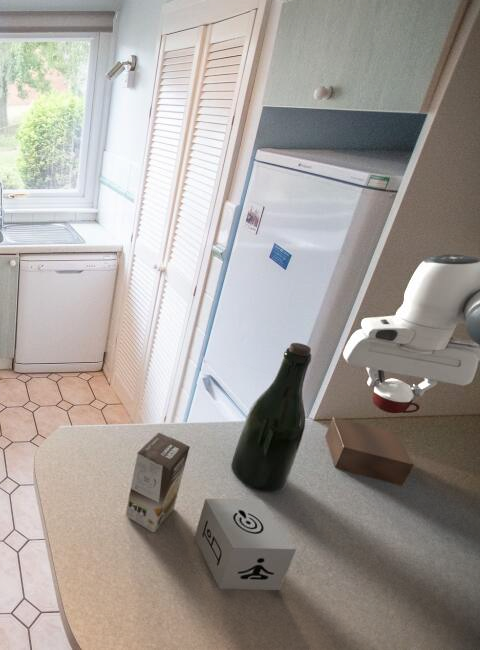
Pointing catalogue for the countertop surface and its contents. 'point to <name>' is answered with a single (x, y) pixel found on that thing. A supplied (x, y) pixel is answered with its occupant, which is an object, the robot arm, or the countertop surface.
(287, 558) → the icon cube
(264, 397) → the beer bottle
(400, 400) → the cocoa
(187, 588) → the countertop surface
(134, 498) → the coffee box
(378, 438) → the walnut block
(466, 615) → the countertop surface
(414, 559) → the countertop surface
